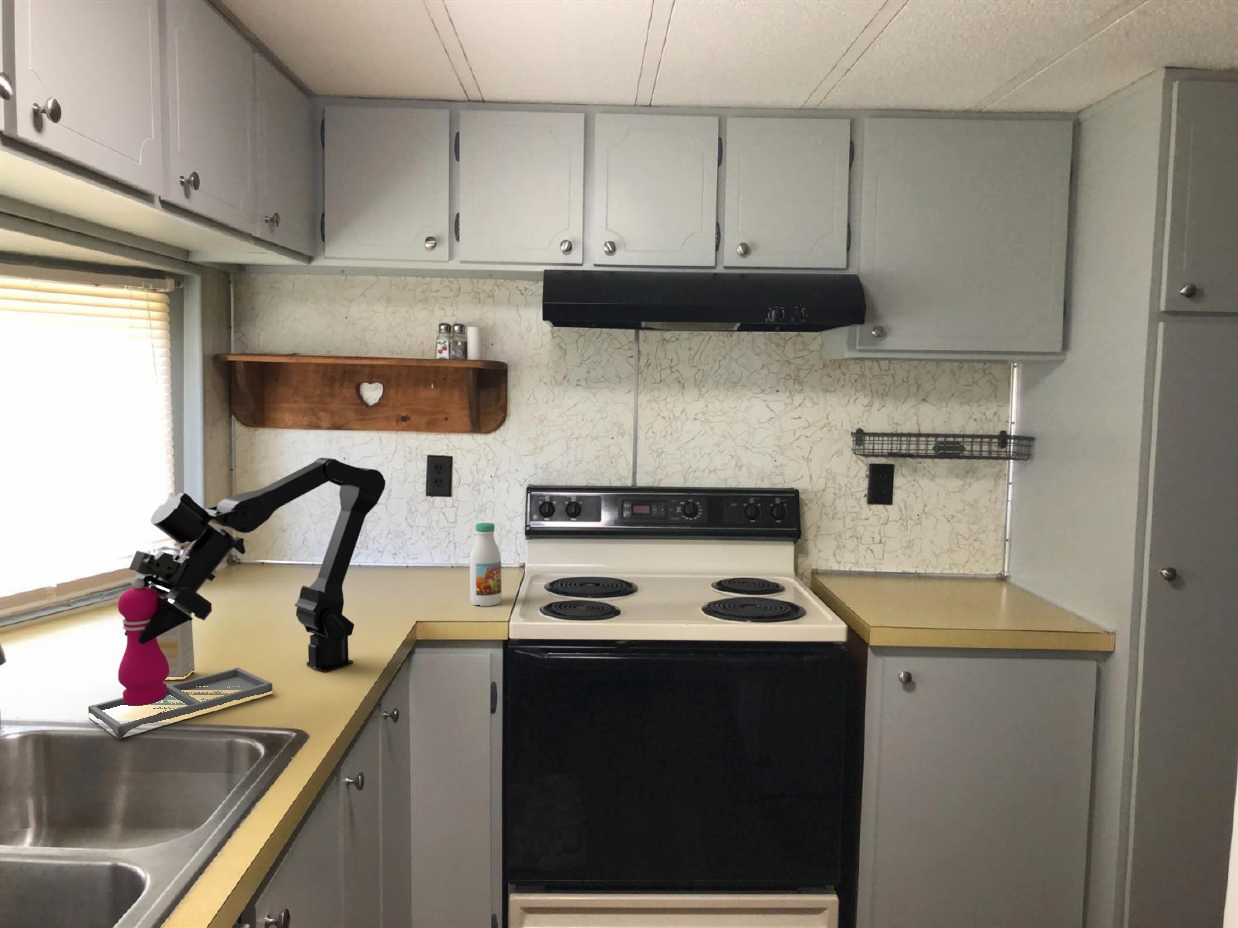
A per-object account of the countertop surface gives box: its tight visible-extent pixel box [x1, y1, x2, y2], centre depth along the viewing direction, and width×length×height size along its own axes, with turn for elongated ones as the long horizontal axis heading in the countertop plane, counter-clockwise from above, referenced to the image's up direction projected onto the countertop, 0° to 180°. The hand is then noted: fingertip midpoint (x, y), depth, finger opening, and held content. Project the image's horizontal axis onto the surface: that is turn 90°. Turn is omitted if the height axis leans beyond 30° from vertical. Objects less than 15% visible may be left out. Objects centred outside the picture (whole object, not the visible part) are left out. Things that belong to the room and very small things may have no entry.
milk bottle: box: [469, 522, 502, 607], centre depth 204 cm, size 8×8×20 cm
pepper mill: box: [117, 578, 169, 706], centre depth 133 cm, size 7×7×20 cm
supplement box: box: [157, 614, 196, 677], centre depth 152 cm, size 8×5×13 cm, turn 92°
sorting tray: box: [87, 667, 274, 741], centre depth 138 cm, size 24×13×2 cm, turn 140°
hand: (133, 639), depth 132 cm, fingers closed on pepper mill, 5 cm apart
